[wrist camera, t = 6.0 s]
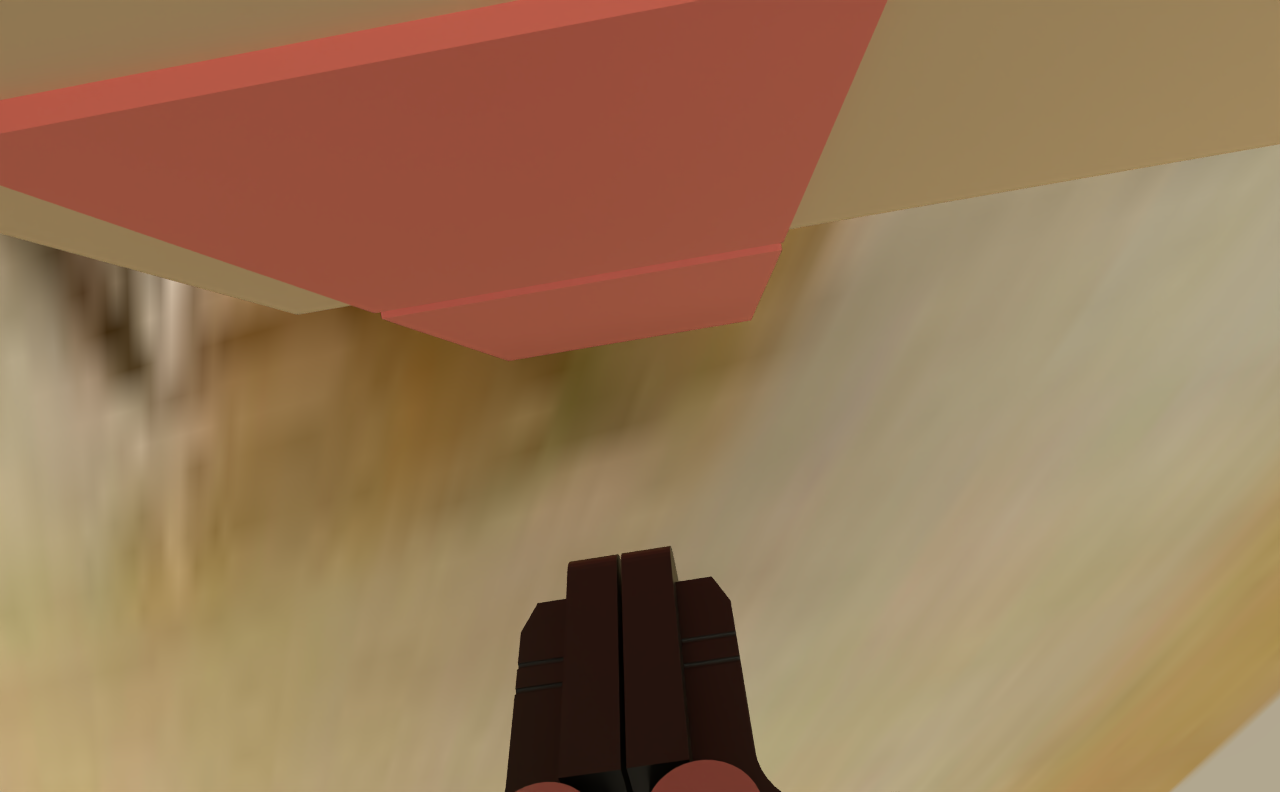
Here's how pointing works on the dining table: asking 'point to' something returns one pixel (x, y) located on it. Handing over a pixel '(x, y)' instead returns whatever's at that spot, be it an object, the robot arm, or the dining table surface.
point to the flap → (577, 139)
